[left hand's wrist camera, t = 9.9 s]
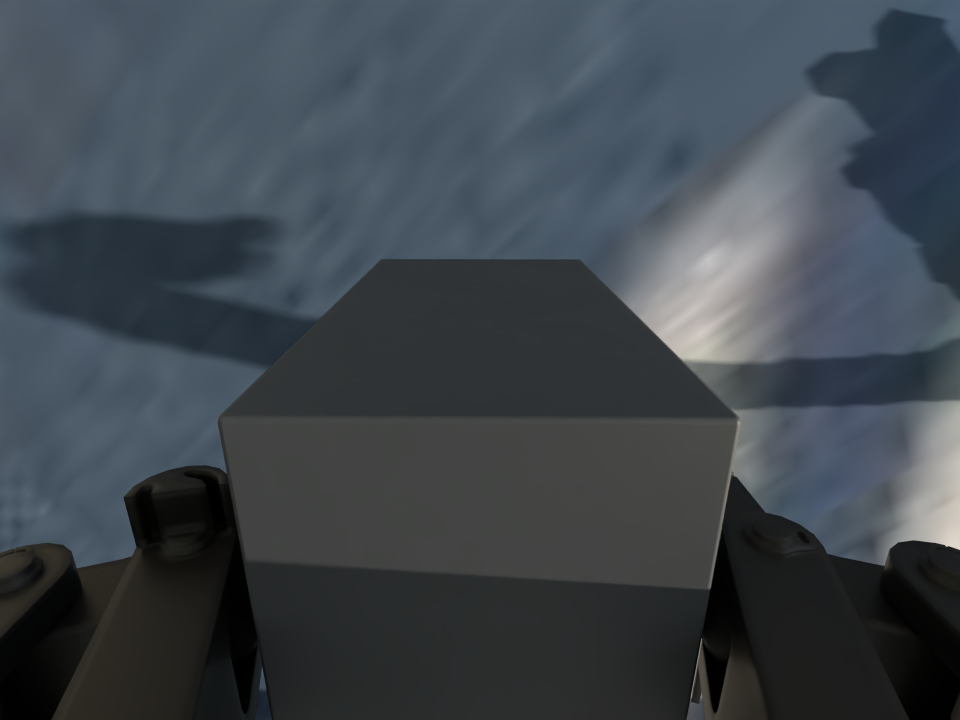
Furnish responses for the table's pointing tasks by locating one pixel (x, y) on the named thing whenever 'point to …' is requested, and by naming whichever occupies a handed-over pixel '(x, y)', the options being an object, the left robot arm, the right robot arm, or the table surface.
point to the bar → (479, 502)
